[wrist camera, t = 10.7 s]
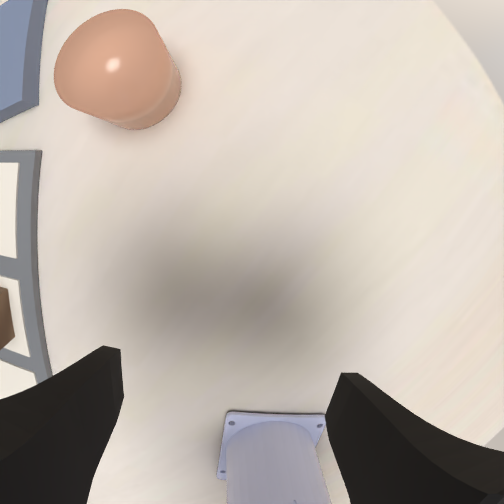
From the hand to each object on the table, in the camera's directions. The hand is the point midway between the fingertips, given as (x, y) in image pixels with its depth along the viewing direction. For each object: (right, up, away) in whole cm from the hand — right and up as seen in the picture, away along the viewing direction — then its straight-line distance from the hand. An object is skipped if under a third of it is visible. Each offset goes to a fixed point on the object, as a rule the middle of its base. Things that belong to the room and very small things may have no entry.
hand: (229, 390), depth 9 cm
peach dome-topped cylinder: (-6, +14, +6) cm, 16 cm away
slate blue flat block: (-17, +19, +5) cm, 26 cm away
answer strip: (-19, 0, +9) cm, 21 cm away
